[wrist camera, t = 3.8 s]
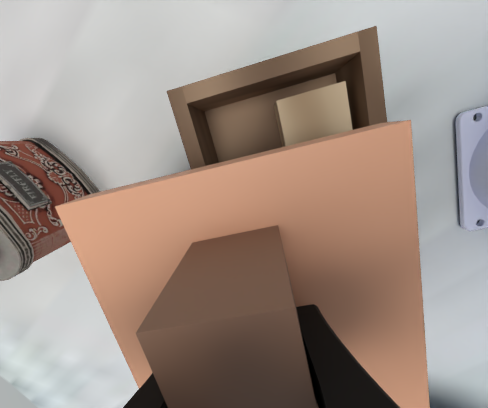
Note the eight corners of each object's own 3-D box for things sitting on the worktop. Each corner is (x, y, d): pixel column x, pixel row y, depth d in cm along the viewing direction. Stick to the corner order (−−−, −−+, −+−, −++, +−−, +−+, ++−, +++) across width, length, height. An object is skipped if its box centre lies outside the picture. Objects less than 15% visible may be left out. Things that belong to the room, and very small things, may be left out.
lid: (380, 123, 9) (598, 101, 3) (404, 372, 12) (538, 593, 6) (90, 194, 10) (-120, 267, 5) (176, 400, 13) (113, 599, 7)
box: (343, 57, 15) (376, 25, 11) (365, 209, 17) (399, 232, 13) (191, 103, 16) (166, 91, 12) (231, 238, 19) (222, 268, 14)
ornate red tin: (121, 211, 19) (-25, 287, 9) (93, 236, 20) (-69, 331, 10) (41, 127, 18) (-227, 115, 8) (14, 157, 18) (-259, 180, 9)
